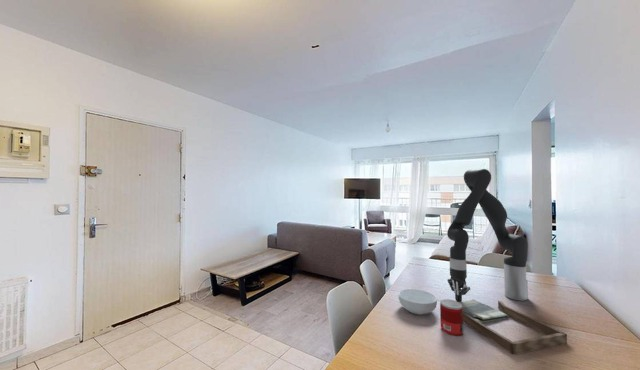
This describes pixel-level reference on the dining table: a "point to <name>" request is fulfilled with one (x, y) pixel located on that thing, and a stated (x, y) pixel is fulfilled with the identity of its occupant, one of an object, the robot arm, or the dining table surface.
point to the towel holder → (517, 347)
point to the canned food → (451, 317)
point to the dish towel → (482, 311)
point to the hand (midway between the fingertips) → (458, 301)
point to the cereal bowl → (417, 301)
